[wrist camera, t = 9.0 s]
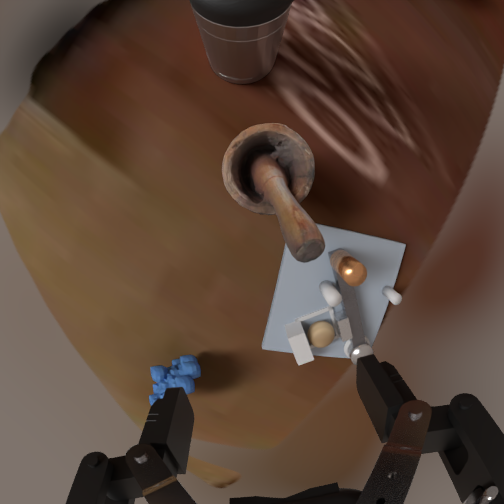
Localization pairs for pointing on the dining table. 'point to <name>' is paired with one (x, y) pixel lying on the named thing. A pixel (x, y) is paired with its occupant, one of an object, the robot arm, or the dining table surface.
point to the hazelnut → (321, 334)
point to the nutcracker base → (316, 270)
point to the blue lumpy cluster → (175, 376)
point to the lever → (349, 302)
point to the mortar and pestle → (275, 182)
